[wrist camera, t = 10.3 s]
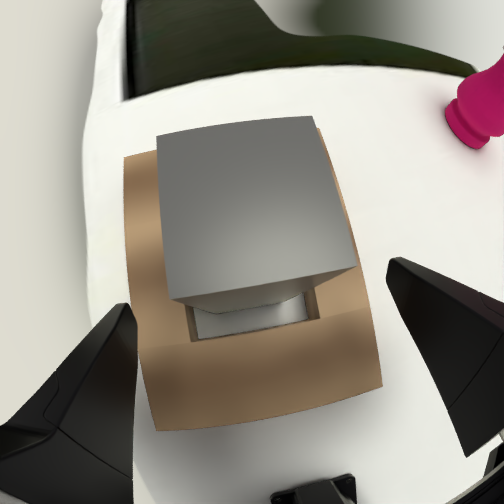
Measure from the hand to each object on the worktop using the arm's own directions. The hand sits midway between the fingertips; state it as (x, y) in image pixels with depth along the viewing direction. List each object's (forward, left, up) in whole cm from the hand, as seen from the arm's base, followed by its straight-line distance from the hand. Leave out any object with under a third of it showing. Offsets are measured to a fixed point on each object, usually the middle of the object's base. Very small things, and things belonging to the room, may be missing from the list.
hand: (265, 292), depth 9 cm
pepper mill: (+14, -28, -10) cm, 33 cm away
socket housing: (+2, 0, -10) cm, 10 cm away
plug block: (+2, 0, -10) cm, 11 cm away
